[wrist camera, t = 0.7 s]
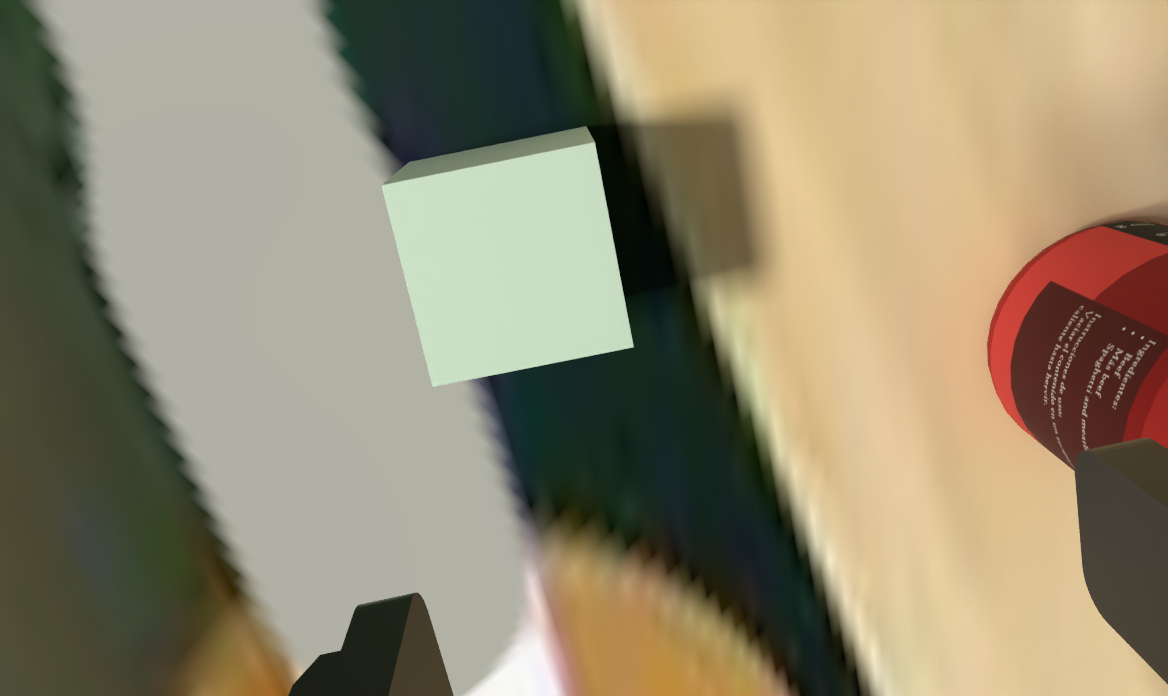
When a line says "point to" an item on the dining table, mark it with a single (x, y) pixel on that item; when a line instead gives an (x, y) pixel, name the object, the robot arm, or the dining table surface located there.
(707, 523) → the dining table surface
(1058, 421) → the canned food
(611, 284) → the sage block
